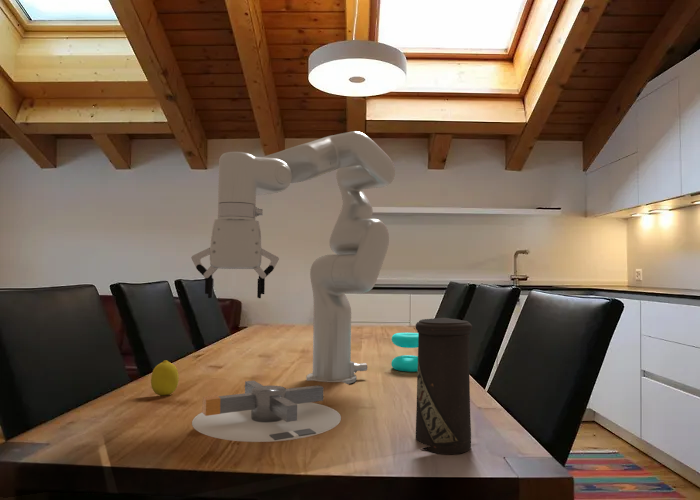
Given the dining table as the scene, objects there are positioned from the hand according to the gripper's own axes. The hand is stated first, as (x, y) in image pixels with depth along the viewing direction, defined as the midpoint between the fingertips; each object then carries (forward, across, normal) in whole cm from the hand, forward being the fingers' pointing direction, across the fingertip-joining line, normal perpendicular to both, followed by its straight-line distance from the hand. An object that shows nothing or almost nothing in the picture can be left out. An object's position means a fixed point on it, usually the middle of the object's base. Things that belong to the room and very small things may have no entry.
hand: (235, 297), depth 103 cm
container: (+22, -34, +28) cm, 49 cm away
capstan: (+21, -7, +13) cm, 25 cm away
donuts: (+22, -47, -35) cm, 63 cm away
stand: (+22, -7, +13) cm, 26 cm away
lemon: (+22, +15, -8) cm, 28 cm away
